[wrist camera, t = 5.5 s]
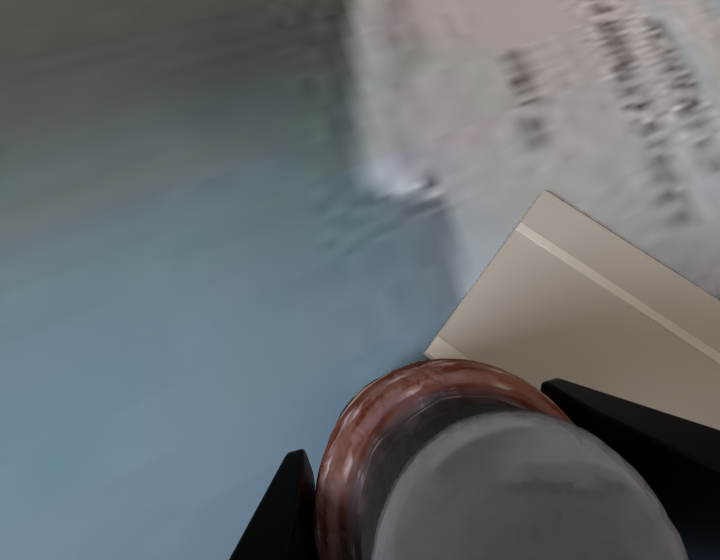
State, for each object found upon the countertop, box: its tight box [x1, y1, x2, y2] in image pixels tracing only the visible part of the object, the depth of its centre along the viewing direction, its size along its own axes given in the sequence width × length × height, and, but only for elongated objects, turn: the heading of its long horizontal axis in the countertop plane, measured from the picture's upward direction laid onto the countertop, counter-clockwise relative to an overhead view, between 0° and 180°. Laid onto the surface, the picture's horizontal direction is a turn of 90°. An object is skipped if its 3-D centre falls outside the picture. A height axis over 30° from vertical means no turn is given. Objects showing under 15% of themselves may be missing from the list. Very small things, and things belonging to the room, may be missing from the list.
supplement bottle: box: [313, 359, 689, 560], centre depth 9 cm, size 6×6×11 cm
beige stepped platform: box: [423, 190, 720, 430], centre depth 17 cm, size 16×12×1 cm
